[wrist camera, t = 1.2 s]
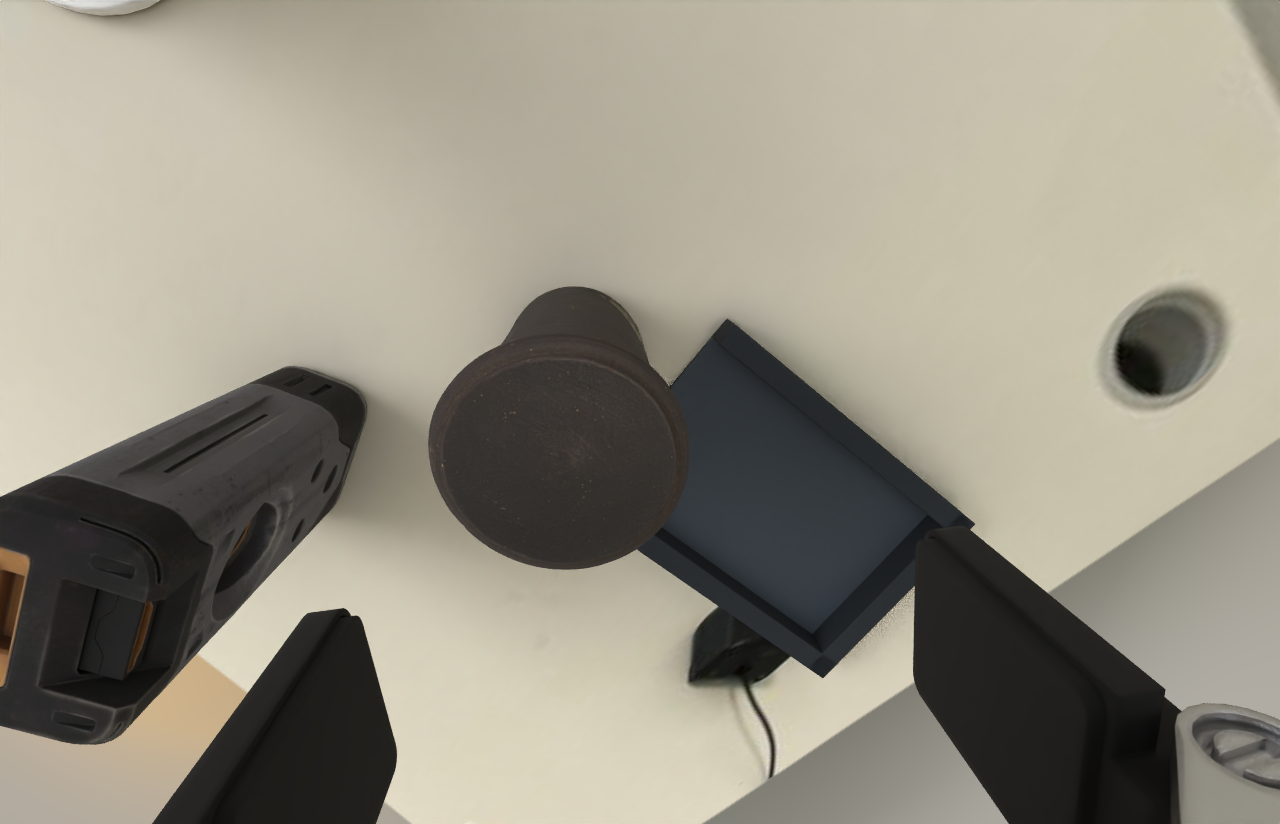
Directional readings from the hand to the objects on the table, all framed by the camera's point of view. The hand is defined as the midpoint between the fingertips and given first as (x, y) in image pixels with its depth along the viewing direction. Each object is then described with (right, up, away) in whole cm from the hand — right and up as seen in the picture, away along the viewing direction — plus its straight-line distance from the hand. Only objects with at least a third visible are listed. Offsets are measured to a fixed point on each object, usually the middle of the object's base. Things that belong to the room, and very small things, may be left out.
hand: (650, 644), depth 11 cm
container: (-4, +8, +30) cm, 31 cm away
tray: (+8, -2, +33) cm, 34 cm away
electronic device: (-21, +2, +30) cm, 37 cm away
